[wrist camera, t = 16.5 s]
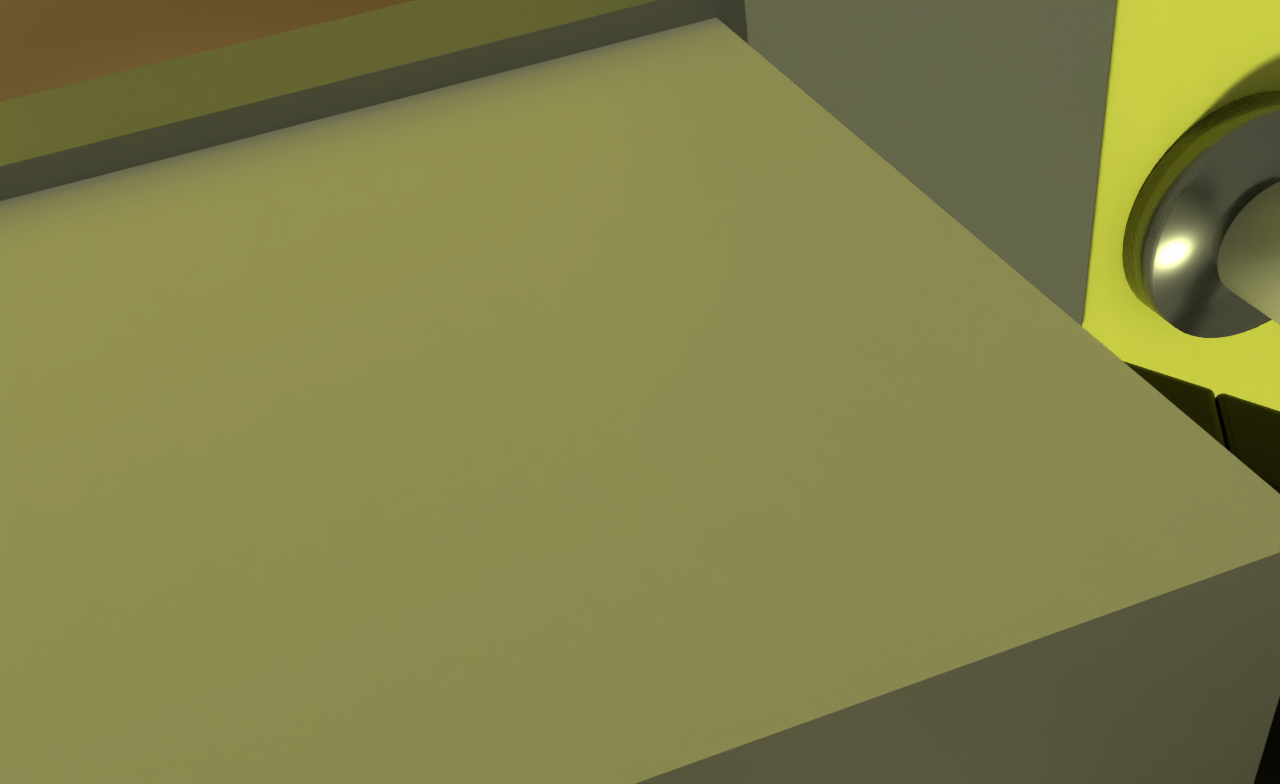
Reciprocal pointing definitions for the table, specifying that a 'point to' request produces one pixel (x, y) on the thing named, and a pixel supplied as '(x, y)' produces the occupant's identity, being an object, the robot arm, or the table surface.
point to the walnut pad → (138, 33)
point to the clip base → (1202, 217)
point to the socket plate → (968, 110)
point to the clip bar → (1254, 253)
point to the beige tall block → (575, 439)
